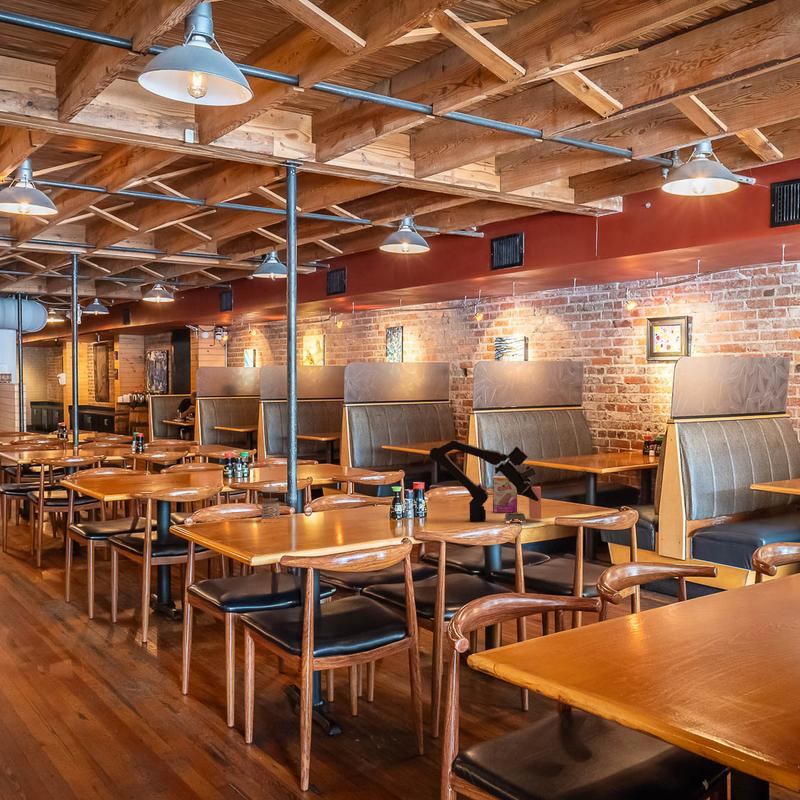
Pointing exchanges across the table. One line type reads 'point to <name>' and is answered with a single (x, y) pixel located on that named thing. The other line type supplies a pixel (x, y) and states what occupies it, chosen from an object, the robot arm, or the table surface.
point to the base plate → (515, 517)
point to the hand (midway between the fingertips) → (538, 499)
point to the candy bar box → (504, 495)
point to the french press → (269, 503)
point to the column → (535, 504)
